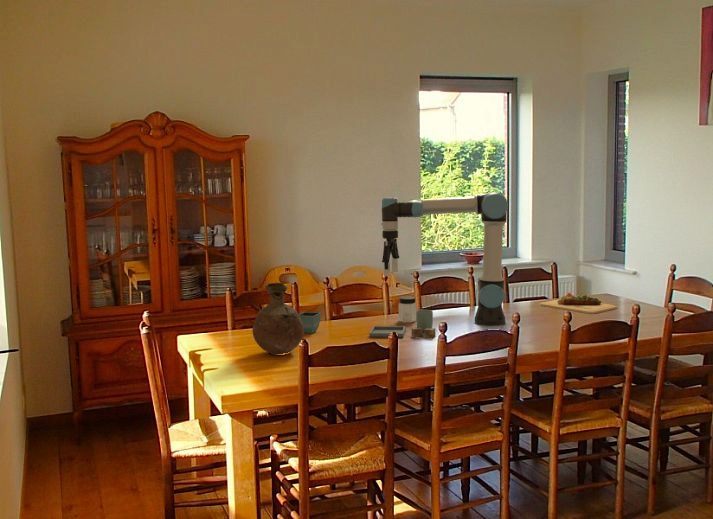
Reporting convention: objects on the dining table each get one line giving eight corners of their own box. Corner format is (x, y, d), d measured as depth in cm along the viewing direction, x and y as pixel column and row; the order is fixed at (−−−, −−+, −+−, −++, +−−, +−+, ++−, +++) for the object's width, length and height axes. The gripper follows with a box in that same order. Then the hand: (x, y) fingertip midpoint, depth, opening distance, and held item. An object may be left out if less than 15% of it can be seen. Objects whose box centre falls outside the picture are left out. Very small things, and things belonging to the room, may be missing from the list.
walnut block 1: (419, 335, 356) (419, 327, 355) (422, 337, 352) (422, 328, 351) (411, 336, 355) (411, 327, 354) (414, 338, 351) (413, 329, 350)
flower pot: (297, 333, 365) (296, 315, 364) (304, 329, 373) (304, 311, 372) (314, 334, 362) (313, 316, 361) (321, 330, 370) (320, 312, 369)
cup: (432, 333, 358) (431, 312, 357) (415, 333, 360) (415, 312, 358) (433, 330, 366) (433, 309, 364) (417, 329, 367) (417, 309, 366)
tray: (405, 330, 367) (405, 326, 366) (403, 337, 351) (403, 333, 351) (373, 330, 369) (373, 326, 369) (369, 337, 354) (369, 333, 353)
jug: (261, 362, 314) (258, 289, 310) (247, 350, 334) (244, 282, 330) (311, 355, 323) (309, 285, 319) (294, 345, 342) (292, 278, 338)
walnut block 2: (435, 336, 352) (435, 328, 352) (432, 338, 349) (432, 330, 348) (427, 336, 354) (427, 327, 354) (424, 338, 350) (424, 329, 350)
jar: (398, 322, 385) (398, 299, 383) (398, 319, 393) (398, 296, 391) (416, 322, 384) (416, 298, 383) (416, 319, 392) (416, 296, 391)
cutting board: (537, 306, 422) (537, 292, 421) (564, 301, 436) (564, 288, 435) (592, 315, 394) (592, 301, 393) (618, 309, 409) (618, 295, 408)
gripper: (389, 227, 380) (390, 270, 382) (374, 232, 356) (376, 277, 359) (404, 227, 377) (405, 270, 380) (390, 232, 354) (391, 277, 356)
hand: (391, 274), depth 369 cm, fingers open, 13 cm apart
